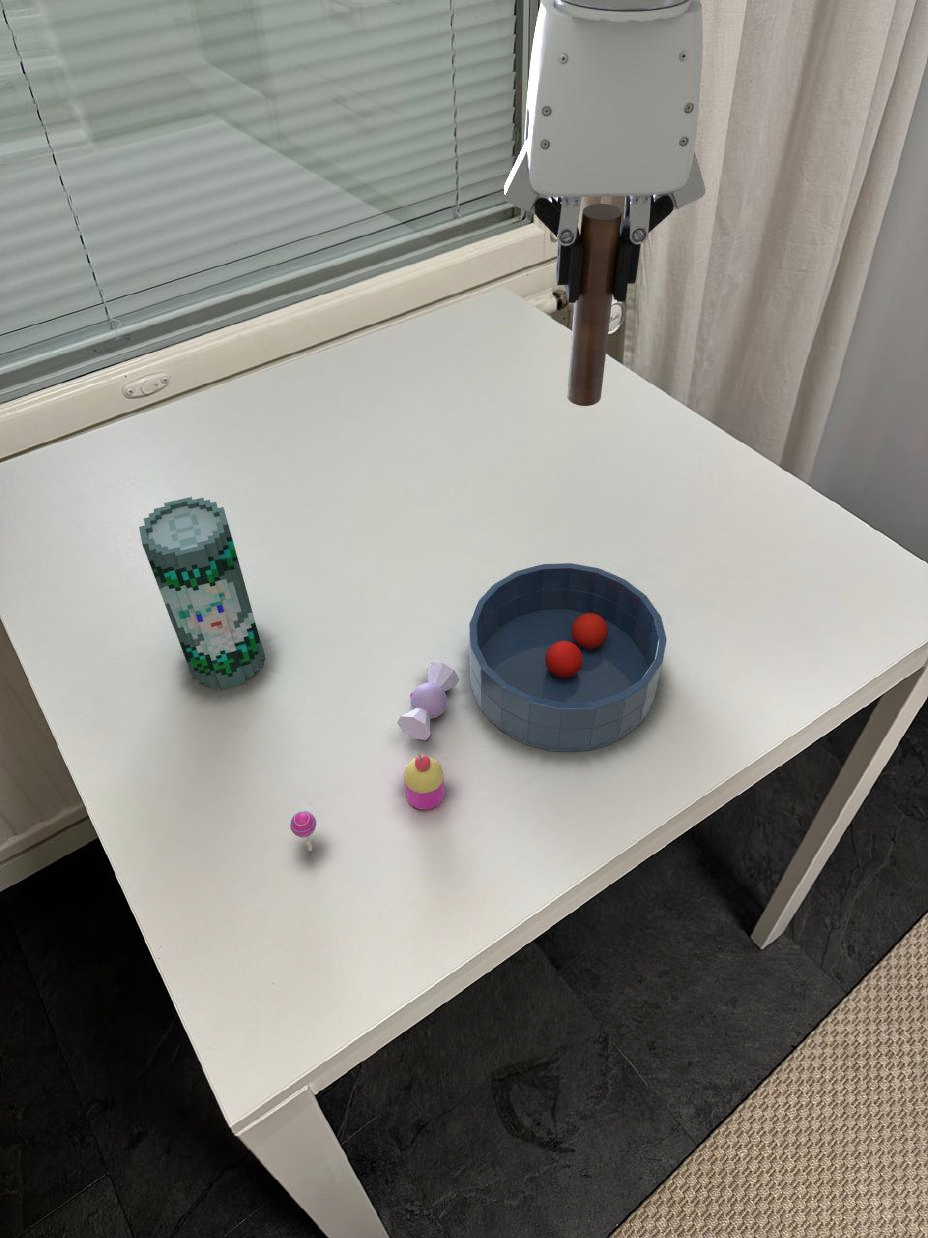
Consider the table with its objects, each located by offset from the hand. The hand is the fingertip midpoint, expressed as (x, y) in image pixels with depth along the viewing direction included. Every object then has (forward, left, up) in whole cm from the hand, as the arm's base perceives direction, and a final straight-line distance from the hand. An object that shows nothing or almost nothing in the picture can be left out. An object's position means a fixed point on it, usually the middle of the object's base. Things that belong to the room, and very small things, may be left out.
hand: (594, 290), depth 62 cm
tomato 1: (+2, +12, -25) cm, 28 cm away
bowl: (+2, +12, -27) cm, 30 cm away
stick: (0, 0, -9) cm, 9 cm away
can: (+30, +9, -27) cm, 41 cm away
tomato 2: (-1, +9, -25) cm, 27 cm away
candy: (+15, +21, -27) cm, 38 cm away
